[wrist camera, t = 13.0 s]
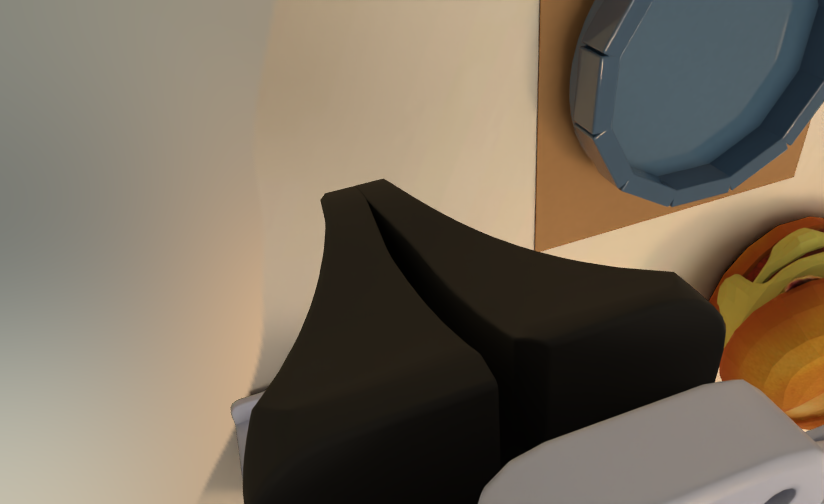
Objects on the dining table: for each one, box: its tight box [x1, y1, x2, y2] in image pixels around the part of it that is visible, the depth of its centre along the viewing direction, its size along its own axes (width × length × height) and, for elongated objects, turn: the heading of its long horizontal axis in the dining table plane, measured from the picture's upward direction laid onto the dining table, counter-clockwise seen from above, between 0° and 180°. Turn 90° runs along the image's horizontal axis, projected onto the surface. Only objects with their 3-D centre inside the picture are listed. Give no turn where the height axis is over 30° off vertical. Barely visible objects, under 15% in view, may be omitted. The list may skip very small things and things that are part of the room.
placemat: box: [535, 0, 811, 252], centre depth 24 cm, size 14×16×1 cm
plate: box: [569, 0, 824, 207], centre depth 23 cm, size 11×11×2 cm
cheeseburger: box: [709, 216, 824, 430], centre depth 32 cm, size 10×11×10 cm
